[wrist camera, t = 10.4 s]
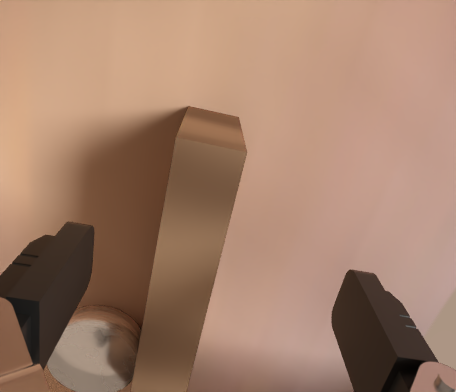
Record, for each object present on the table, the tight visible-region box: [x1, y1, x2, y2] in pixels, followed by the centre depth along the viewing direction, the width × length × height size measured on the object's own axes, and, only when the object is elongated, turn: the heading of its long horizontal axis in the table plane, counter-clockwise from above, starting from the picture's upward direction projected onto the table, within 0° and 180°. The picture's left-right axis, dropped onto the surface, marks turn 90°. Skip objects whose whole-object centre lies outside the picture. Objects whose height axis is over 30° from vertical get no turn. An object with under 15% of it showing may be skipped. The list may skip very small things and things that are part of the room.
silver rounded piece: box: [47, 305, 141, 392], centre depth 23 cm, size 5×5×2 cm
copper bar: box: [131, 106, 247, 392], centre depth 19 cm, size 18×2×6 cm, turn 167°
